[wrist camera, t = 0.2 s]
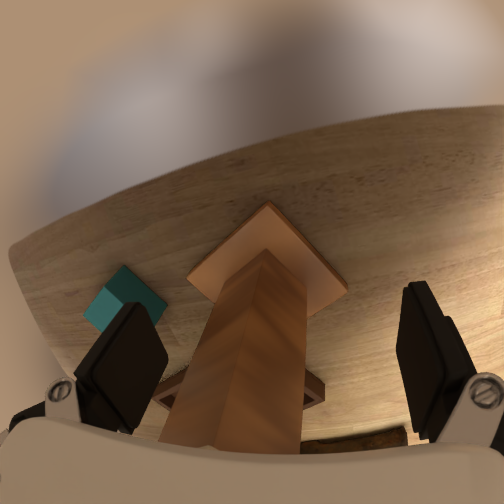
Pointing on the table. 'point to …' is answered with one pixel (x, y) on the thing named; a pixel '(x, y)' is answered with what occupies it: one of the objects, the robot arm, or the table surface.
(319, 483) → the robot arm
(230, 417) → the stand
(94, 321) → the teal square block
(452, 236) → the table surface
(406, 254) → the table surface
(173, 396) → the dark brown rectangular tray
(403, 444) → the hand tool
